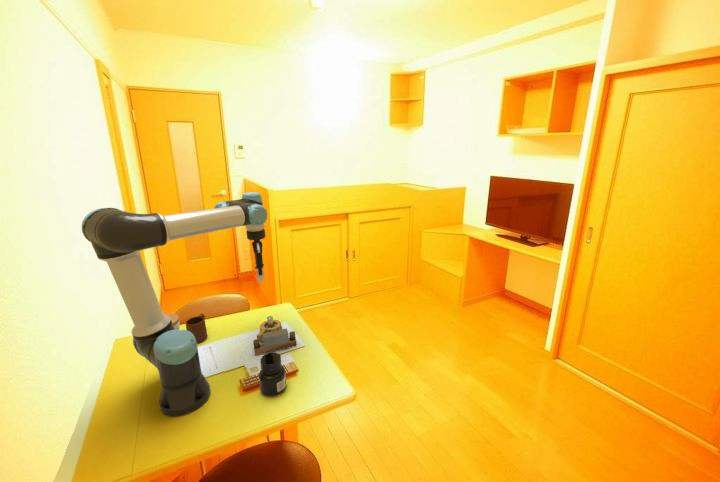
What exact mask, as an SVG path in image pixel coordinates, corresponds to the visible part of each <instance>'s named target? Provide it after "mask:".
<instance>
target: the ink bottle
mask: <svg viewBox="0 0 720 482" xmlns="http://www.w3.org/2000/svg"><path fill="white" fill-rule="evenodd" d="M259 361H260V371H259V373H258V379H259V388H260V389H259V390H260V392H261V394H262V395H263V396H266V397H273V396H277V395H280V394H282V393H283V392H284V391H285V390H286V388H287V377H286V376H287V375H286V368H285V367H284V366H283V364H282V355H281V354H280V353H278V352H275V351H273V352H268V353H264V355H263V356H261V357H260V360H259Z"/></svg>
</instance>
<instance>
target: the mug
mask: <svg viewBox="0 0 720 482" xmlns="http://www.w3.org/2000/svg"><path fill="white" fill-rule="evenodd" d="M205 319H206V316H205V314H204V313H200V314H199V315H198V316H192V317H190V318H188V319H187V320H186V321H185V330H187V331H190V332H191V333H192V334H193V335H194V336H195V339H196V342H197V344H200V343H203V342H204V341H206V340H207V339H208V332H207V331H208V330H207V325H206V320H205Z"/></svg>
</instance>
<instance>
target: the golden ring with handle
mask: <svg viewBox="0 0 720 482" xmlns="http://www.w3.org/2000/svg"><path fill="white" fill-rule="evenodd" d="M273 325H275V327H272V328H266V327H267V326H268V322H267V320H264V321H262V323H261V324H259V332H258V333H257V334H256V339H259V342H260V343H262V342H263V335H262V334H263V333H267V332H272V331H277V330H280V329H281V327H282V322H281V321H280V320H278V319H273ZM282 328H283V327H282Z"/></svg>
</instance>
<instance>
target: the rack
mask: <svg viewBox="0 0 720 482" xmlns="http://www.w3.org/2000/svg"><path fill="white" fill-rule="evenodd" d="M288 335H289V343H285V344H281V345H277V346H272V347H268V348H264V343H261V342H259V339H257V338H256V339H254V340H253V341H252V342H253V343H252V344H253V351H254V356H259V355H263V354H264V355H265V354H267V353H272V352H277V351H281V350H285V349H288V348H289V347H290V348H293V347H292V346H294V347H297V346H296V345H297V339H296V332H295V331H293V330H292V331H290V332H288ZM290 348H289V349H290Z"/></svg>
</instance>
